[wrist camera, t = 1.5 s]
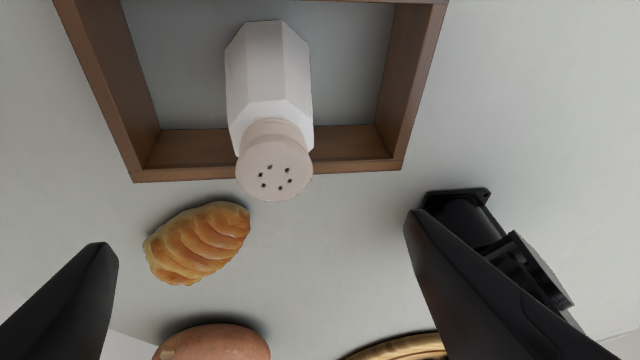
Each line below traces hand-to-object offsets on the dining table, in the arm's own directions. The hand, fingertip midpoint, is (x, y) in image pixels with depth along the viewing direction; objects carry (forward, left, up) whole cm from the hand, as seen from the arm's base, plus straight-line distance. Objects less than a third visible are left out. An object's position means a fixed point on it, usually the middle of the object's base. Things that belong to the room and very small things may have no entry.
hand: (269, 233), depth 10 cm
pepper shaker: (0, 0, -14) cm, 14 cm away
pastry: (+7, +15, -14) cm, 21 cm away
